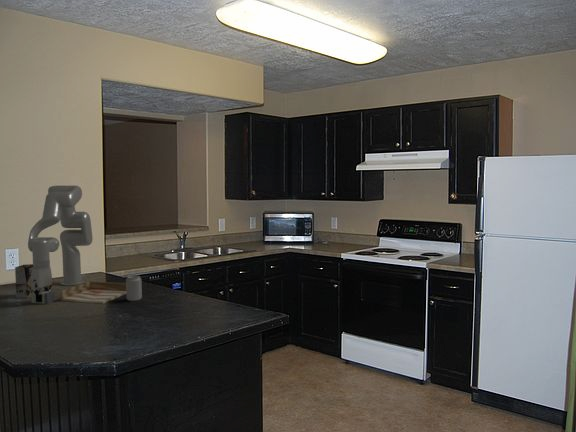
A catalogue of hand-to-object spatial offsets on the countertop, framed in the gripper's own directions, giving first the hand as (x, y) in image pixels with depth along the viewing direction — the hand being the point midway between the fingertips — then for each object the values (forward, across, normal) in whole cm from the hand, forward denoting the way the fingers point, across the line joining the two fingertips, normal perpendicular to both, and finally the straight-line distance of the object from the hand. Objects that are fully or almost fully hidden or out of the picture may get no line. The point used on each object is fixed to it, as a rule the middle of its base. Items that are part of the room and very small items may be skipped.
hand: (43, 300), depth 252 cm
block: (+1, 0, 0) cm, 1 cm away
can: (+1, -14, +42) cm, 44 cm away
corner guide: (+1, -16, +19) cm, 25 cm away
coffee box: (+1, -10, -18) cm, 21 cm away
